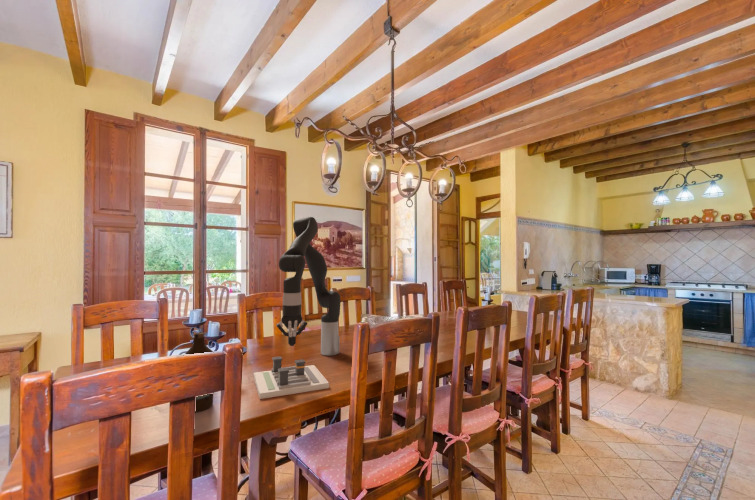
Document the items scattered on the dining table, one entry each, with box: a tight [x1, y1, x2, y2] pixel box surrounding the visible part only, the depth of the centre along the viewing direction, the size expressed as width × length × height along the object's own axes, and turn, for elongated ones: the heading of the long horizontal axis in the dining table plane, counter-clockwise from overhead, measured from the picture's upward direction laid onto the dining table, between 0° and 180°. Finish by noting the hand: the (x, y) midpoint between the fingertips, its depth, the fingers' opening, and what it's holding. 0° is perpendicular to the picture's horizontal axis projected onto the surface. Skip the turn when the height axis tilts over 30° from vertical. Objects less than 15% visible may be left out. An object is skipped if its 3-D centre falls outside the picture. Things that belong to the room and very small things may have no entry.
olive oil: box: [184, 332, 214, 413], centre depth 116 cm, size 11×11×25 cm
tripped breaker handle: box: [294, 358, 306, 376], centre depth 140 cm, size 4×4×6 cm
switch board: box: [253, 356, 330, 400], centre depth 139 cm, size 26×24×8 cm
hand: (291, 345), depth 139 cm, fingers closed
